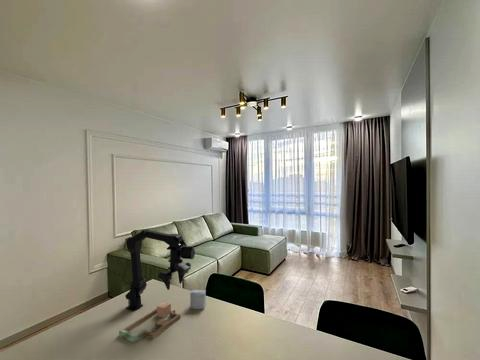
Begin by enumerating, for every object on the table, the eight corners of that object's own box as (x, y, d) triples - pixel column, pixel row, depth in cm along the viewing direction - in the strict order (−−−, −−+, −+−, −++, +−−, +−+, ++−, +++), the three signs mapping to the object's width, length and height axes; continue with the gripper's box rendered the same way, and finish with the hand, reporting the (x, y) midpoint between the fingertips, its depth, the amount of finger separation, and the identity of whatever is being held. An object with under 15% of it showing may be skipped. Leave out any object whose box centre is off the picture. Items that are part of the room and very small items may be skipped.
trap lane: (119, 335, 103) (119, 330, 103) (160, 309, 125) (160, 304, 125) (143, 346, 96) (143, 340, 96) (182, 316, 118) (183, 311, 118)
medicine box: (205, 305, 129) (206, 290, 130) (203, 309, 125) (204, 293, 125) (192, 304, 130) (192, 289, 131) (190, 308, 126) (190, 293, 126)
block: (156, 315, 119) (156, 306, 119) (163, 311, 124) (163, 301, 124) (163, 318, 117) (164, 308, 117) (170, 313, 121) (170, 303, 122)
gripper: (174, 265, 112) (173, 297, 112) (197, 255, 129) (197, 283, 128) (158, 261, 118) (157, 292, 117) (182, 252, 134) (182, 279, 134)
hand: (174, 286), depth 124 cm, fingers open, 9 cm apart
